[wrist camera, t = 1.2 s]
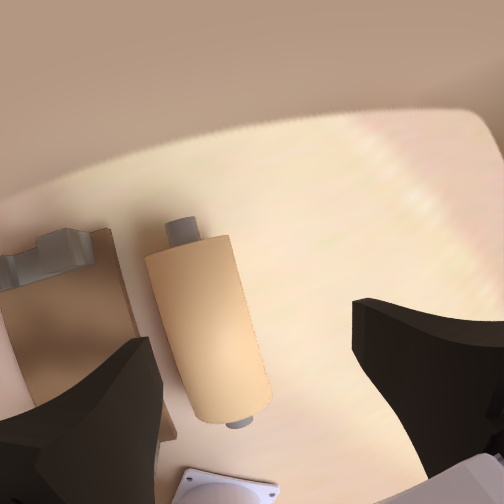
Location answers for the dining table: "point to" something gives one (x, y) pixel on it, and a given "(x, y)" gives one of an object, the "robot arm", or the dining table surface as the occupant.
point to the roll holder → (67, 312)
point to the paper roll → (209, 325)
